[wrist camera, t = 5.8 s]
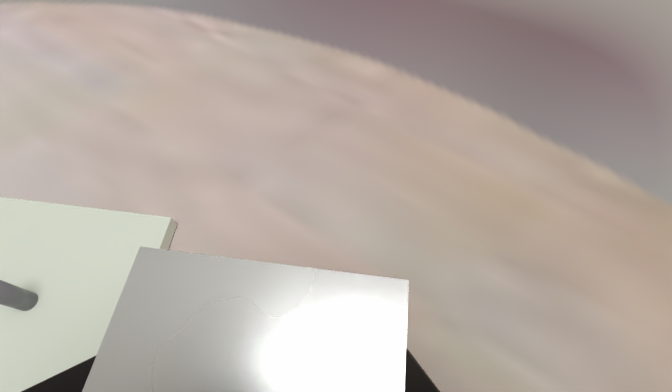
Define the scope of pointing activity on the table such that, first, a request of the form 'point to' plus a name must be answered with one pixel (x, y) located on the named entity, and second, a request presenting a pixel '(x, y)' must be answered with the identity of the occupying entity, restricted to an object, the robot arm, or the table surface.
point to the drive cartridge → (251, 328)
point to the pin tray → (63, 282)
